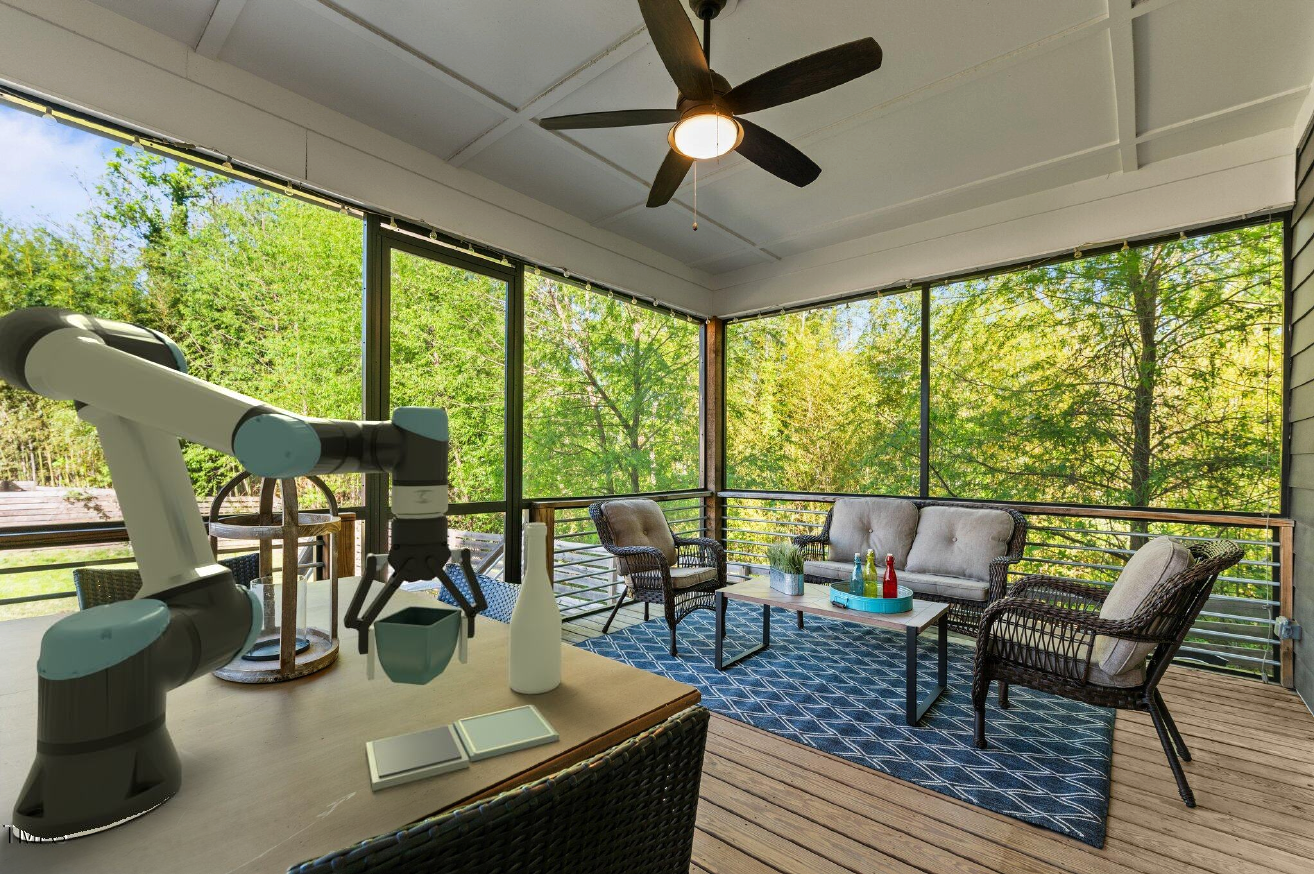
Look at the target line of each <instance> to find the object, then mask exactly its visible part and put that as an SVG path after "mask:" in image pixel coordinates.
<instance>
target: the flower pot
mask: <svg viewBox="0 0 1314 874" xmlns="http://www.w3.org/2000/svg"><path fill="white" fill-rule="evenodd" d="M462 612H463V609H457V608H441V607H429V606H418V605H417V606H416V605H415V606H413V605H410V606H407V607H404V608H402V609H400V610H398V611H395V612H393V613H391V614H388V615H387V616H385V617H383V618H378V620H374V622H373V626H374V630H375V647H376V652H377V658H378V661H379V663H380V666H381V668H382V670H383V672H384V673H385V675H386V676H387V678H388V679H390V681H391V682H392V683H396V684H404V685H405V684H408V685H417V686H425V685H427V684H429V683H430V682H431V681H433V680H434V679H436V678H437V677H439V676H440V675H441V674H443V673H444V672H445V670H446V668H447V667H448V665H449V664H450V662H451V660H452V657H453V656H454V653H455V650H456V647H457V645H458V634H459V628H460V617H461V614H463V613H462Z"/></svg>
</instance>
